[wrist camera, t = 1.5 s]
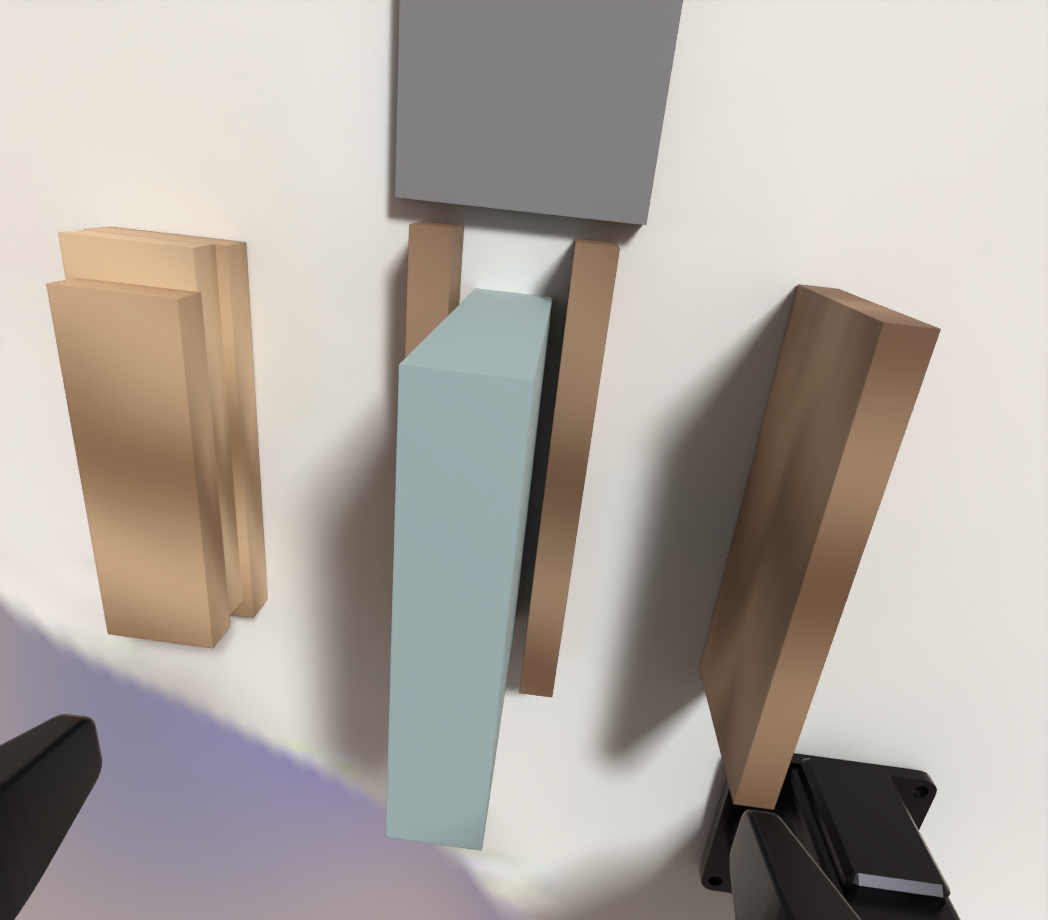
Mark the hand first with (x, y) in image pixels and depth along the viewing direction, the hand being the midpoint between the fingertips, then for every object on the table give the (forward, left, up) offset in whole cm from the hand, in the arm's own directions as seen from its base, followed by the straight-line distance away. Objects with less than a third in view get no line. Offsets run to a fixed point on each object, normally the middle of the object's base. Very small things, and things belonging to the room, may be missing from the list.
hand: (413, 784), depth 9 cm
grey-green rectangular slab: (0, 0, -11) cm, 11 cm away
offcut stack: (0, +9, -11) cm, 14 cm away
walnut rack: (0, -3, -11) cm, 11 cm away
